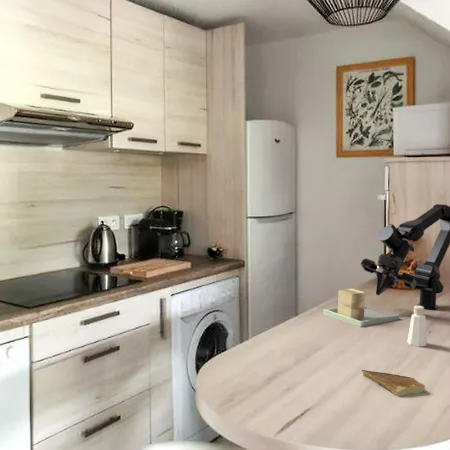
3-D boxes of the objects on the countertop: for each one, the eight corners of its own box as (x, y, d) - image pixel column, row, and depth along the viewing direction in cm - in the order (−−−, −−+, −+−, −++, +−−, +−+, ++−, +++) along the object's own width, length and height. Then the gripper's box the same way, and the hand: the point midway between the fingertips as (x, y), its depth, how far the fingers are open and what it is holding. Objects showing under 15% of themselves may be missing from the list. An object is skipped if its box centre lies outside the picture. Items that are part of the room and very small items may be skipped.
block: (350, 314, 180) (351, 288, 179) (363, 319, 175) (365, 292, 174) (337, 317, 177) (338, 290, 176) (350, 321, 172) (351, 294, 171)
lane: (360, 310, 190) (361, 303, 190) (399, 322, 176) (399, 314, 176) (322, 317, 181) (323, 309, 180) (360, 330, 166) (360, 322, 166)
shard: (361, 376, 130) (361, 368, 130) (392, 372, 134) (393, 364, 133) (395, 398, 118) (395, 389, 118) (429, 393, 121) (429, 384, 121)
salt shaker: (428, 347, 151) (430, 309, 150) (408, 345, 153) (410, 308, 151) (425, 341, 157) (427, 304, 156) (405, 340, 158) (407, 303, 157)
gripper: (367, 237, 184) (346, 275, 181) (419, 254, 173) (398, 296, 170) (374, 250, 193) (354, 288, 189) (424, 268, 182) (404, 308, 178)
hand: (377, 294), depth 181 cm, fingers closed
